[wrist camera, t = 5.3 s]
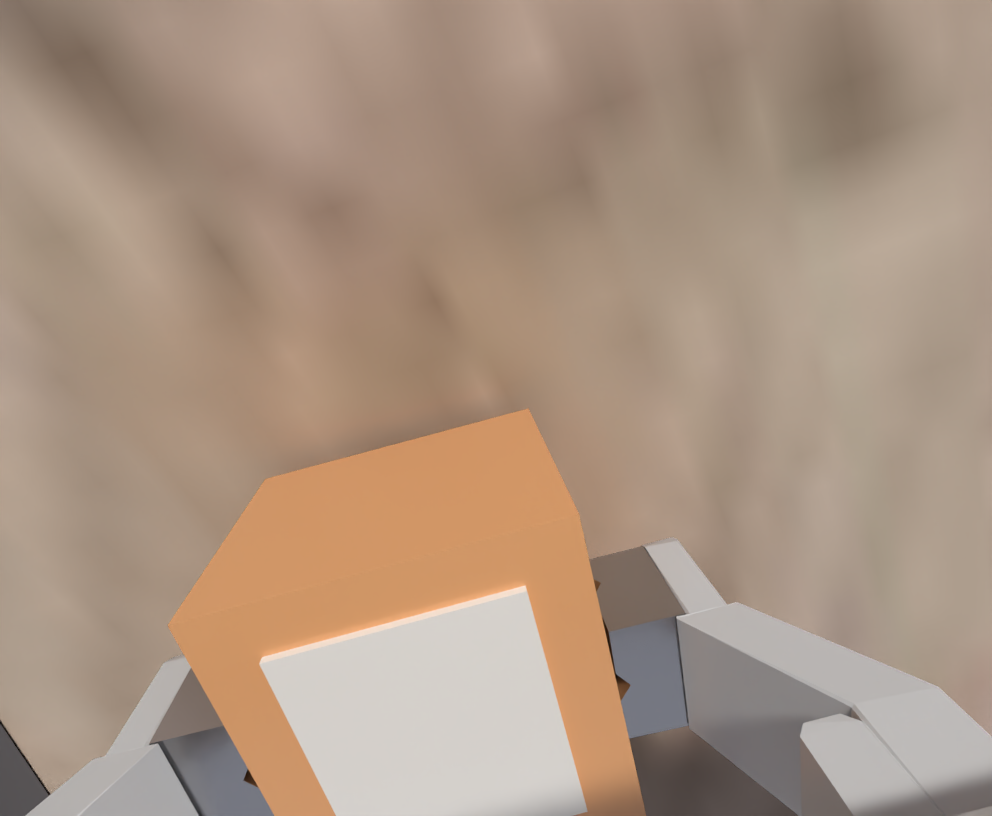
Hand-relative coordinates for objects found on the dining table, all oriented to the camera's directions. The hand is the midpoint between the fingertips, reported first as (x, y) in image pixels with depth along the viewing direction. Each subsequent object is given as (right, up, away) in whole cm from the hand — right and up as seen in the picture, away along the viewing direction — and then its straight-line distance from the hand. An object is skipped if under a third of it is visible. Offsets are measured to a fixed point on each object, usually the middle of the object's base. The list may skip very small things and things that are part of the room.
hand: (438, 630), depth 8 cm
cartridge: (0, +1, +2) cm, 2 cm away
